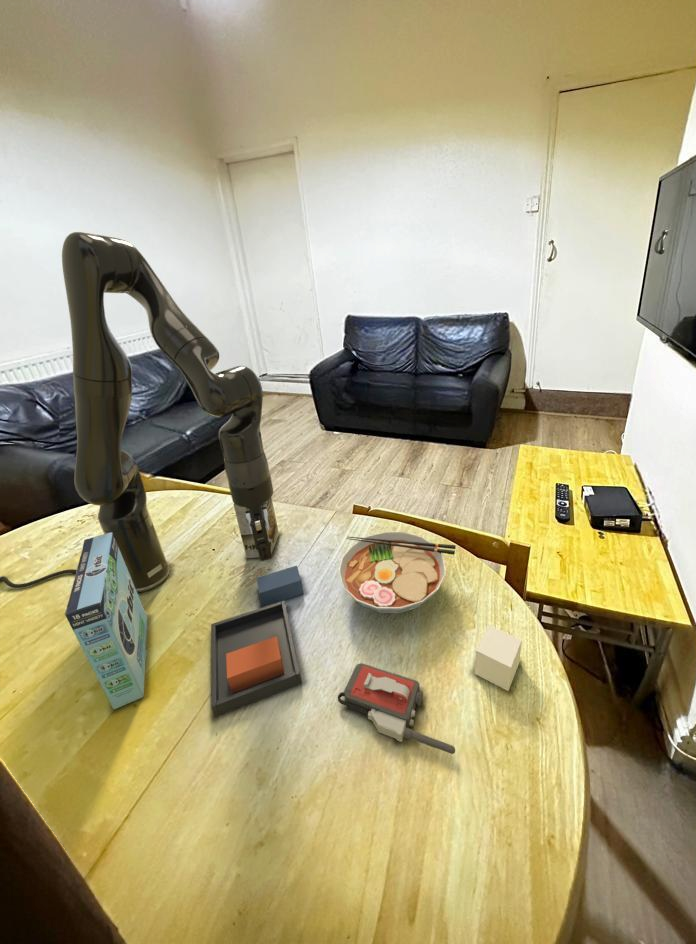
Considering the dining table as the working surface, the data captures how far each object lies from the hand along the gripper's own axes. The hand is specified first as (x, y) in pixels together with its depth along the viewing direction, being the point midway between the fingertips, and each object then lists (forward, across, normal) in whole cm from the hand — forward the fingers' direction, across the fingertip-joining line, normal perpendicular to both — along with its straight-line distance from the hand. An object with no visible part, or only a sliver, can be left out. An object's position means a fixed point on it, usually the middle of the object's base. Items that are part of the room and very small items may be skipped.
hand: (264, 545), depth 83 cm
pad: (+15, +15, -5) cm, 22 cm away
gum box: (+16, +3, -28) cm, 32 cm away
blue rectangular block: (+16, -3, +1) cm, 16 cm away
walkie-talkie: (+16, +31, +16) cm, 38 cm away
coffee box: (+16, -21, -1) cm, 26 cm away
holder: (+16, +12, -5) cm, 20 cm away
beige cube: (+16, +31, +35) cm, 49 cm away
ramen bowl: (+16, +7, +24) cm, 30 cm away
